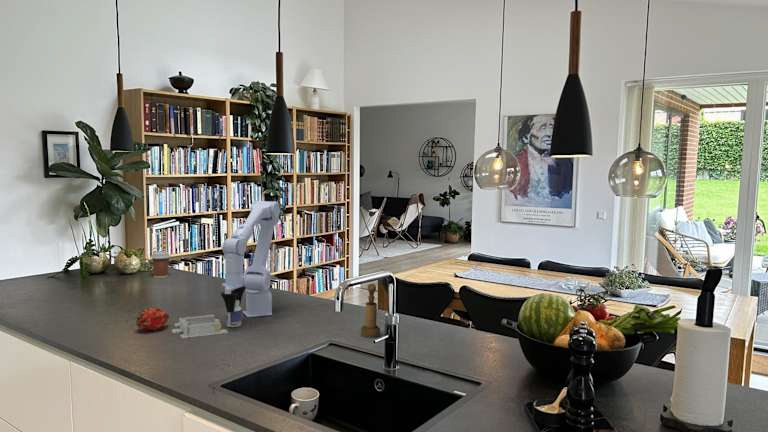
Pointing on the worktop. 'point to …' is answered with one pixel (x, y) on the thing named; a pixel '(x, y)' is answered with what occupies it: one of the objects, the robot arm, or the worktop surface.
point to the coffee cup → (160, 264)
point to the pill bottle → (234, 316)
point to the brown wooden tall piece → (370, 316)
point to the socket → (199, 326)
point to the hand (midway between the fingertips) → (233, 309)
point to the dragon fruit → (152, 319)
